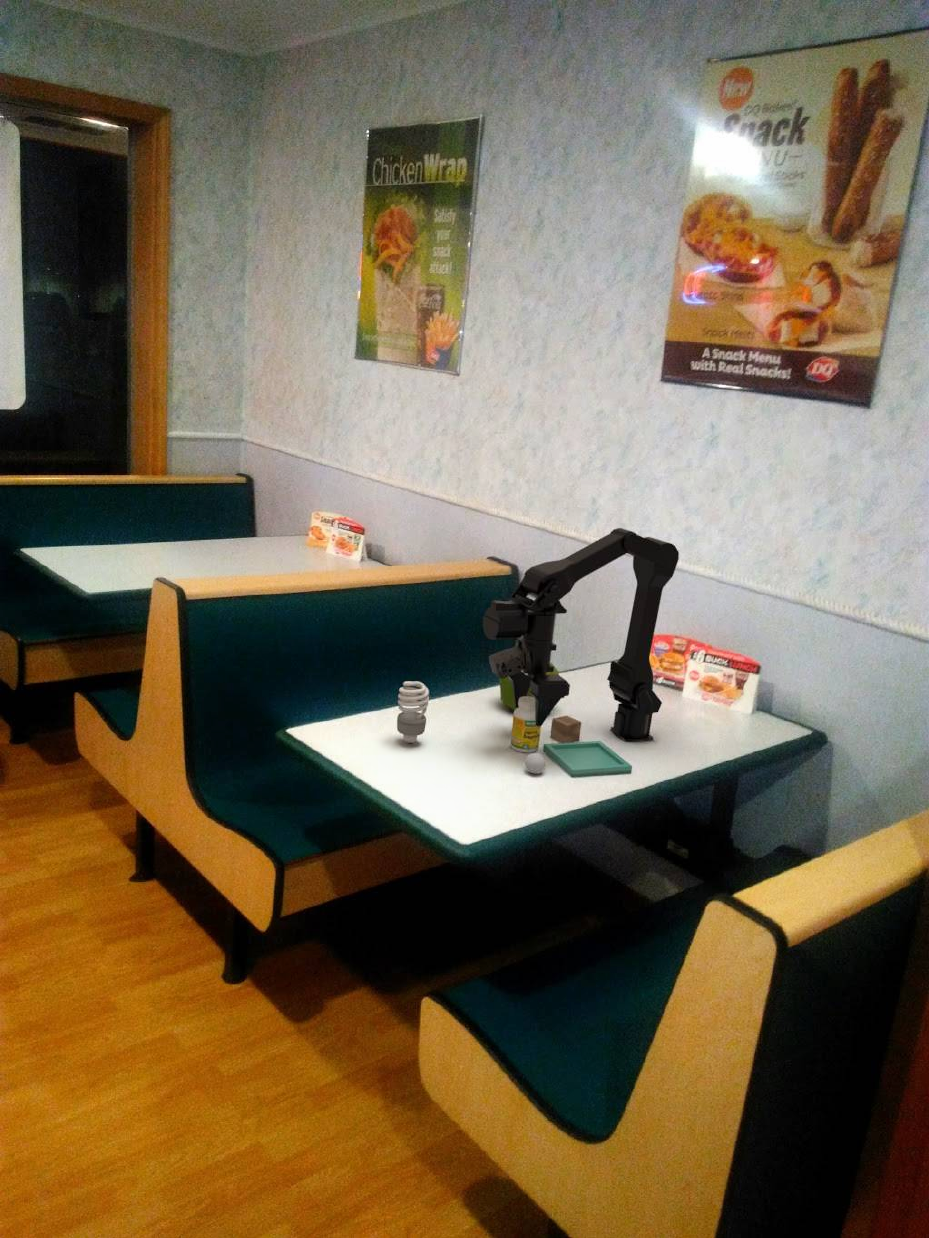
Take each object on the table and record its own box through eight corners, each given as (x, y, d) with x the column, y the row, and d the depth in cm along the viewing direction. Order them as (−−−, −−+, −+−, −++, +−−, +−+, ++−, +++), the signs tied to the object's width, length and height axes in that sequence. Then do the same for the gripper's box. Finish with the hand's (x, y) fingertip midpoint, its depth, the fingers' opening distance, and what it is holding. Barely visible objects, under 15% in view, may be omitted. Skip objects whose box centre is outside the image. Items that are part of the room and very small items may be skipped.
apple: (483, 702, 205) (488, 651, 202) (527, 695, 212) (533, 646, 209) (520, 722, 195) (527, 669, 192) (565, 714, 202) (572, 663, 200)
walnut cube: (564, 734, 191) (566, 715, 190) (579, 741, 189) (581, 722, 188) (549, 737, 189) (552, 718, 188) (564, 745, 186) (567, 725, 185)
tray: (599, 747, 186) (600, 740, 186) (631, 773, 175) (632, 766, 175) (543, 750, 182) (543, 743, 181) (572, 777, 171) (572, 770, 170)
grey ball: (538, 767, 174) (541, 749, 173) (547, 776, 170) (549, 757, 170) (520, 769, 172) (522, 750, 171) (529, 777, 169) (531, 758, 168)
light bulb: (430, 742, 181) (435, 681, 178) (416, 751, 176) (421, 688, 173) (403, 735, 183) (408, 674, 180) (388, 744, 178) (393, 682, 175)
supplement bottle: (526, 740, 186) (532, 693, 184) (544, 751, 182) (550, 702, 179) (504, 744, 183) (509, 696, 181) (521, 755, 179) (526, 706, 176)
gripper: (477, 622, 182) (470, 701, 186) (517, 652, 166) (508, 737, 170) (531, 622, 186) (522, 698, 190) (575, 651, 170) (565, 734, 174)
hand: (528, 716), depth 181 cm, fingers open, 9 cm apart
